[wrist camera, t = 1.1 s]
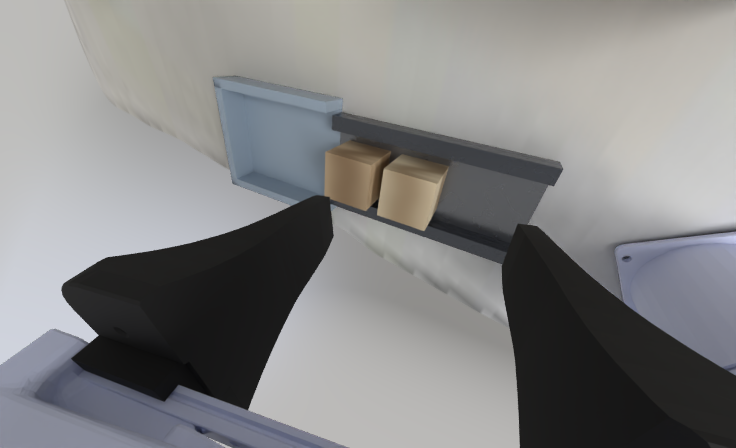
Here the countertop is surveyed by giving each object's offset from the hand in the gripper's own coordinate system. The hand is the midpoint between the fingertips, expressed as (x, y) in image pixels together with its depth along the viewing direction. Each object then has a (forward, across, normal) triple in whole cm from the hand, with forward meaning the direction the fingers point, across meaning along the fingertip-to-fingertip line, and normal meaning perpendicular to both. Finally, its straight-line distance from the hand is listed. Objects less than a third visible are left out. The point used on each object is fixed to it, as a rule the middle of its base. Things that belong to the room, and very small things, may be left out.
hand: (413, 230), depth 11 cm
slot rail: (+13, +1, +4) cm, 13 cm away
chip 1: (+14, +6, +4) cm, 15 cm away
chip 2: (+13, +1, +4) cm, 13 cm away
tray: (+15, +15, +3) cm, 21 cm away
